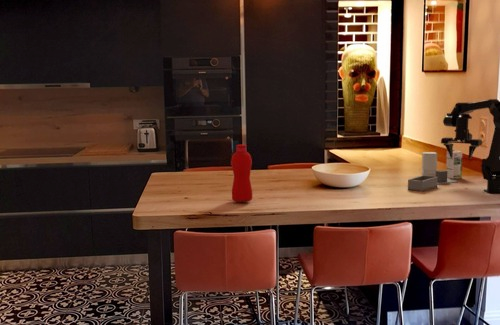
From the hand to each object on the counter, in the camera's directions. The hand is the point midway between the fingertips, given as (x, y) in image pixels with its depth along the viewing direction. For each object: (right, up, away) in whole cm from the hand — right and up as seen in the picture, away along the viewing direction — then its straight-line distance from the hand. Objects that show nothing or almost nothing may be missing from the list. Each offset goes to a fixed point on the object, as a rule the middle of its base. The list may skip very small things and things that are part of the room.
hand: (460, 158), depth 261 cm
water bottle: (-110, -19, -27) cm, 115 cm away
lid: (-7, -13, +7) cm, 16 cm away
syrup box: (+4, -10, +20) cm, 23 cm away
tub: (-22, -15, -8) cm, 27 cm away
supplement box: (-6, -9, +30) cm, 31 cm away
